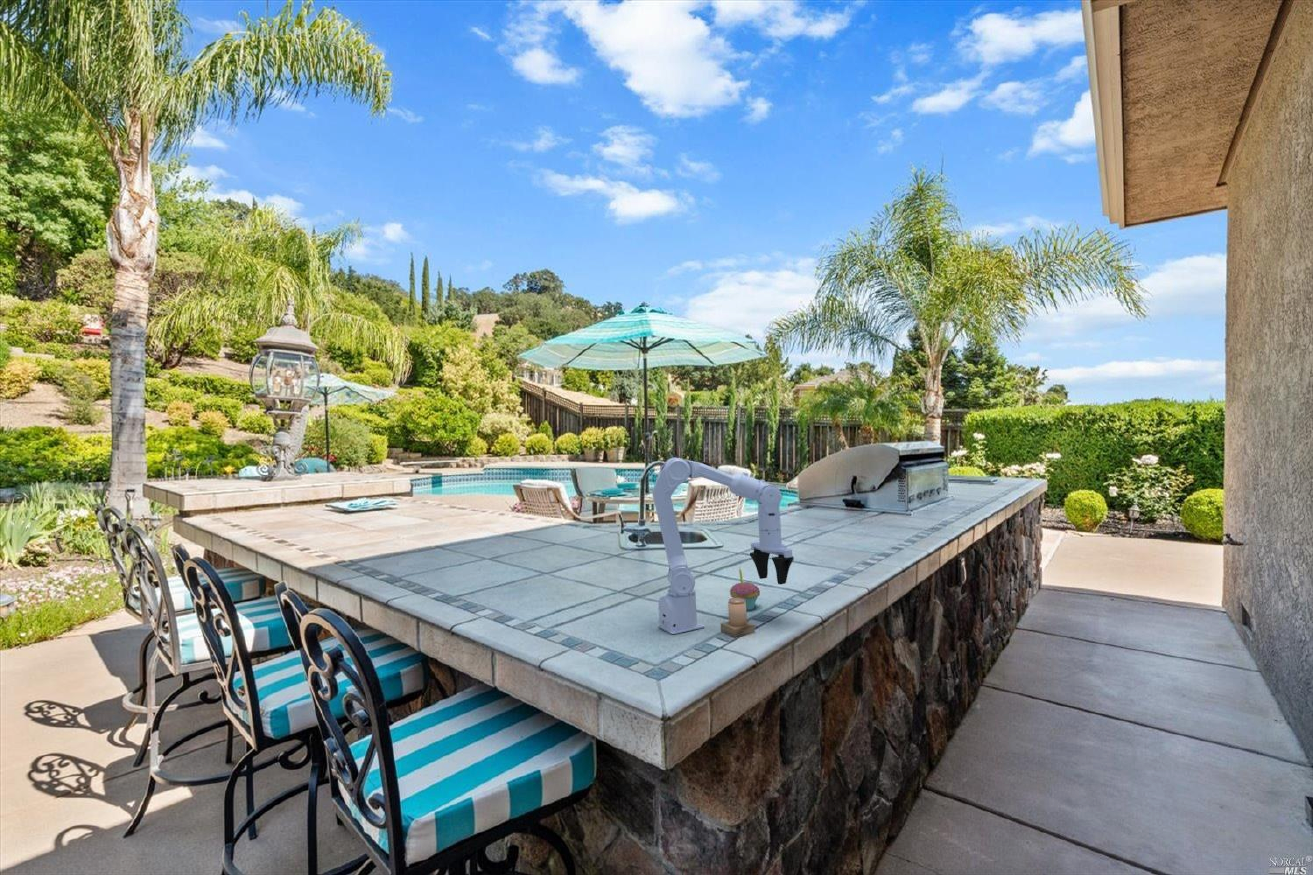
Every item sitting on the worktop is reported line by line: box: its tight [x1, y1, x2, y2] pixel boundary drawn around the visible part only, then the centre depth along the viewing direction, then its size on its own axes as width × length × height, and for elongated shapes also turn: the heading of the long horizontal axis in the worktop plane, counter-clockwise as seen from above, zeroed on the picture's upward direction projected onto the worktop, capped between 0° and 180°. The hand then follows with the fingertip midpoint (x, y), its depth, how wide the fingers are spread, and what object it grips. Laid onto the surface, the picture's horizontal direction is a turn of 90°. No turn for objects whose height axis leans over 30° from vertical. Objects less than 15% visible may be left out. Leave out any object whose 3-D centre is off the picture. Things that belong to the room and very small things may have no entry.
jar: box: [727, 597, 748, 627], centre depth 144 cm, size 4×4×6 cm
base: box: [720, 620, 756, 639], centre depth 144 cm, size 6×6×2 cm
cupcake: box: [729, 567, 761, 611], centre depth 164 cm, size 9×8×12 cm
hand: (772, 580), depth 151 cm, fingers open, 7 cm apart
